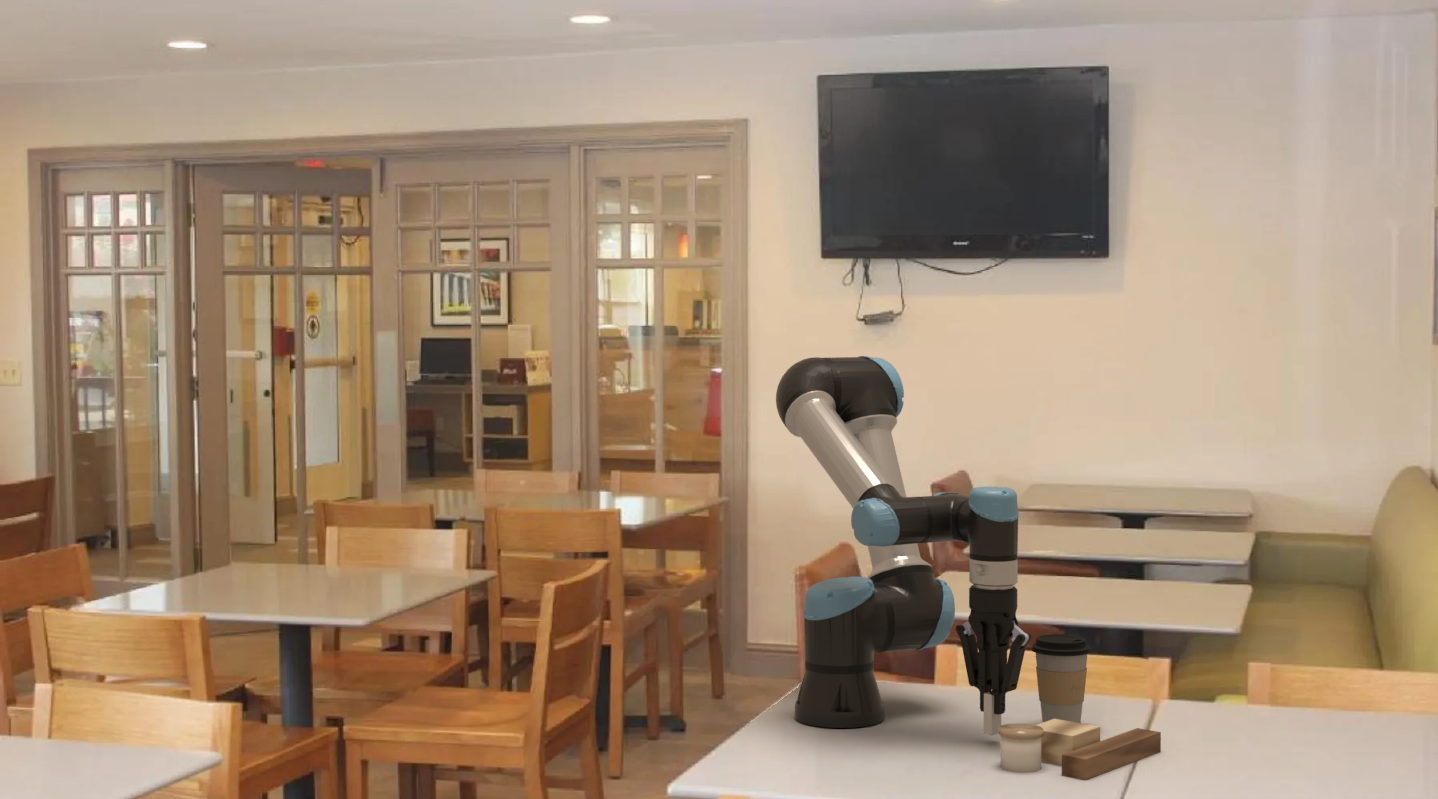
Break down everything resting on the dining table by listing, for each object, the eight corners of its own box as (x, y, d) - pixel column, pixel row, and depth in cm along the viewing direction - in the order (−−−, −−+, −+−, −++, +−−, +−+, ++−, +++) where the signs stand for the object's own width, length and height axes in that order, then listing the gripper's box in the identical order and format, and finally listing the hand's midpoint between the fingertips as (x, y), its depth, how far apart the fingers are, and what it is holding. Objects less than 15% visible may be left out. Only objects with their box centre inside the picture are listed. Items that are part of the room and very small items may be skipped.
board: (1061, 775, 237) (1061, 754, 237) (1137, 747, 253) (1137, 728, 253) (1085, 780, 234) (1085, 759, 234) (1160, 751, 250) (1160, 732, 250)
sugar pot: (989, 767, 242) (989, 729, 241) (1014, 759, 246) (1014, 721, 246) (1027, 775, 237) (1027, 736, 237) (1052, 766, 242) (1052, 728, 242)
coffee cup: (1091, 737, 259) (1091, 644, 258) (1031, 735, 261) (1031, 642, 260) (1089, 724, 268) (1089, 634, 268) (1031, 721, 270) (1031, 632, 270)
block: (1026, 760, 246) (1026, 727, 246) (1054, 750, 252) (1054, 718, 252) (1072, 769, 241) (1072, 736, 241) (1100, 759, 247) (1100, 726, 246)
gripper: (945, 583, 257) (944, 730, 258) (1015, 592, 248) (1014, 745, 249) (972, 578, 262) (971, 722, 263) (1041, 587, 253) (1040, 736, 254)
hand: (992, 733), depth 256 cm, fingers closed
